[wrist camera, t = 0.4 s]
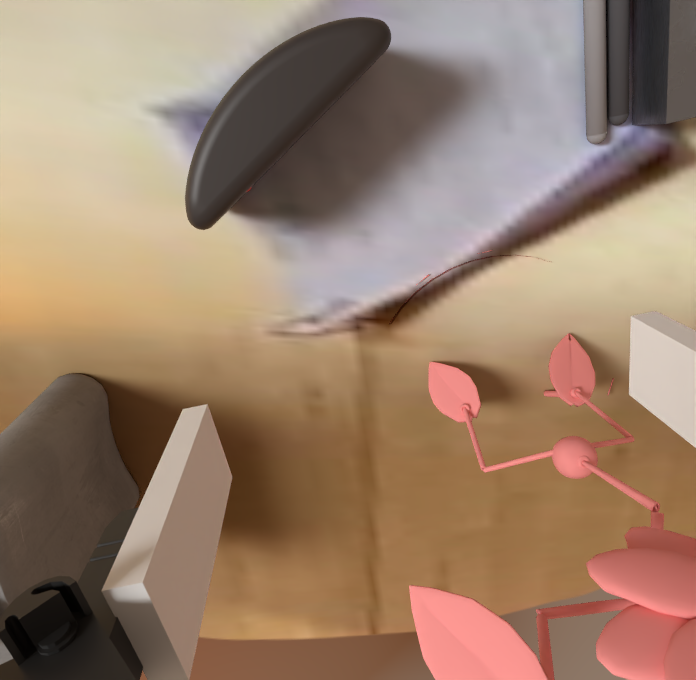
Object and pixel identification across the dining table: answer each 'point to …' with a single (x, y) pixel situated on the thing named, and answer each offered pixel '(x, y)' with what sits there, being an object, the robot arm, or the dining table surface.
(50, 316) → the dining table surface
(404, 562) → the dining table surface
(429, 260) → the dining table surface
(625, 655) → the figurine
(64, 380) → the flask
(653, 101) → the lever switch plate
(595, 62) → the rods
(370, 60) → the black rounded flat block
